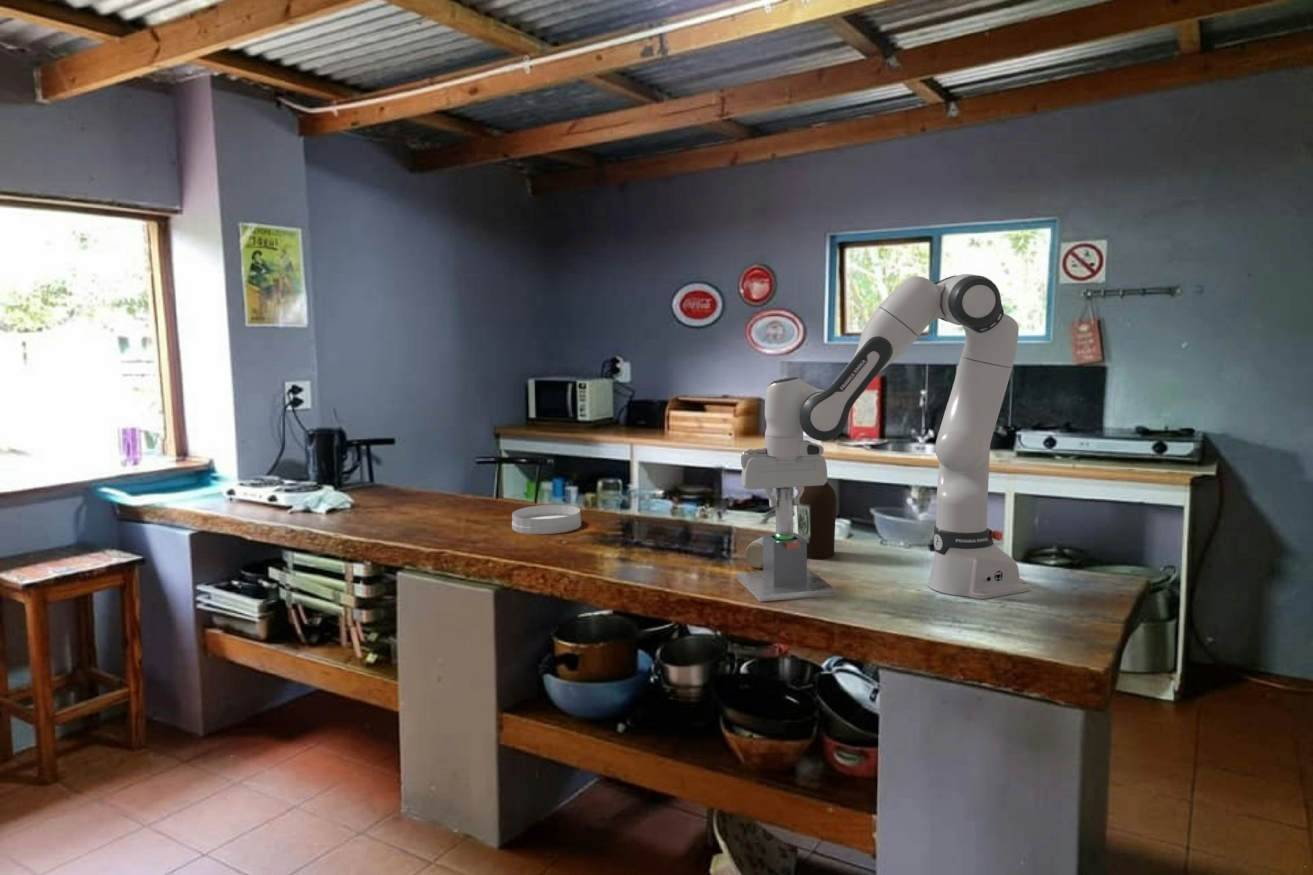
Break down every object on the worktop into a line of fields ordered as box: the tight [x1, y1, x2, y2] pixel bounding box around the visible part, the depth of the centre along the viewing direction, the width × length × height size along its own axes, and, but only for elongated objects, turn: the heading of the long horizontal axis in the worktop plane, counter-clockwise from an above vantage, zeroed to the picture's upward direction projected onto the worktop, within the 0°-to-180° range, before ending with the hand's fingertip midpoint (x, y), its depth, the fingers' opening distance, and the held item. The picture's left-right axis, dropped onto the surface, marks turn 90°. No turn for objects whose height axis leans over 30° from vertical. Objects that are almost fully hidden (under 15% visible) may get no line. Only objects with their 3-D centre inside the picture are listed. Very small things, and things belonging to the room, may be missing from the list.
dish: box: [511, 504, 582, 535], centre depth 265 cm, size 22×22×5 cm
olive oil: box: [796, 481, 838, 560], centre depth 222 cm, size 11×11×25 cm
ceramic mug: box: [744, 536, 763, 570], centre depth 212 cm, size 11×8×8 cm
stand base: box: [736, 531, 837, 603], centre depth 195 cm, size 18×18×12 cm
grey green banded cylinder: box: [774, 487, 794, 541], centre depth 194 cm, size 4×4×18 cm
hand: (784, 505), depth 193 cm, fingers closed on grey green banded cylinder, 4 cm apart
